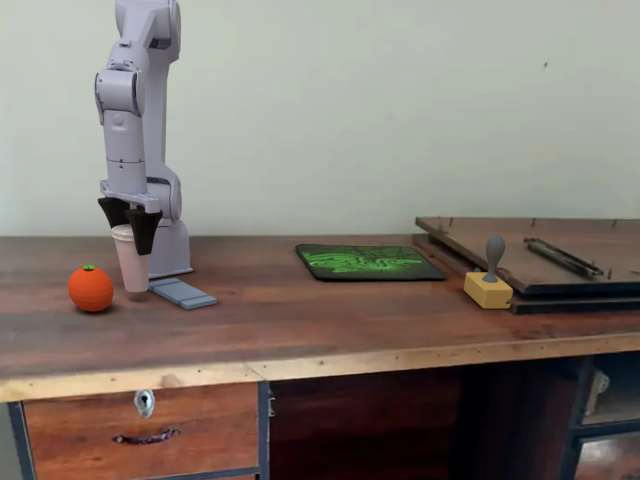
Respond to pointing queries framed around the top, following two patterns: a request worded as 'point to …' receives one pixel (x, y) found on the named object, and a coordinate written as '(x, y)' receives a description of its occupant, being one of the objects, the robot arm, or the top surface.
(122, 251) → the smoothie
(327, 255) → the mouse mat
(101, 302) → the clementine
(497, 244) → the rubber stamp
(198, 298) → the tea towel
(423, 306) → the top surface
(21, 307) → the top surface
